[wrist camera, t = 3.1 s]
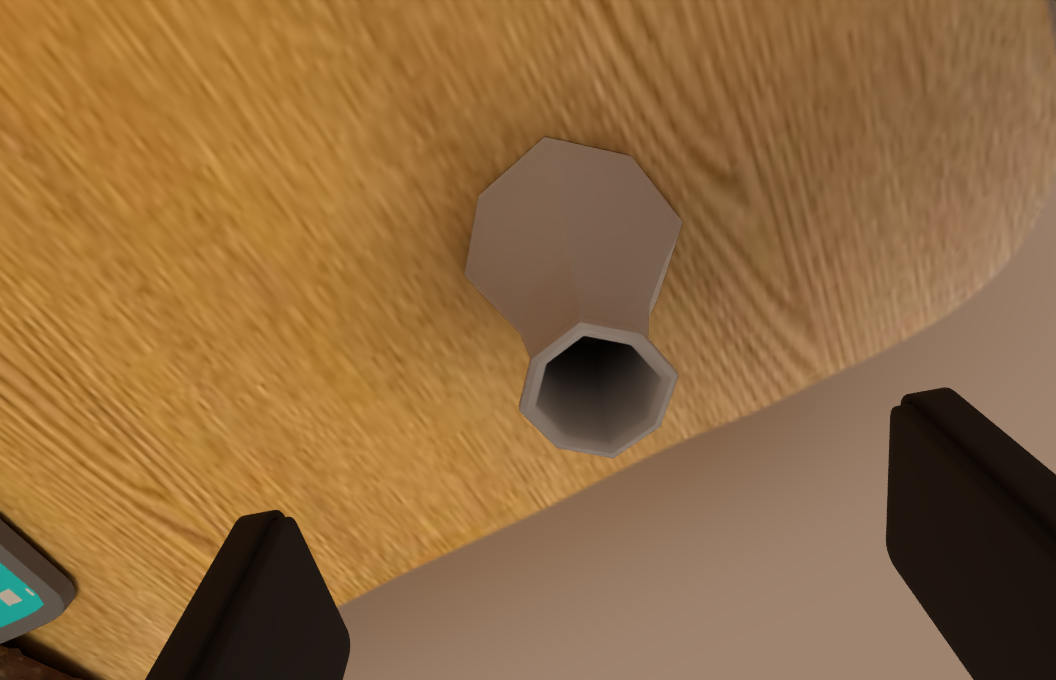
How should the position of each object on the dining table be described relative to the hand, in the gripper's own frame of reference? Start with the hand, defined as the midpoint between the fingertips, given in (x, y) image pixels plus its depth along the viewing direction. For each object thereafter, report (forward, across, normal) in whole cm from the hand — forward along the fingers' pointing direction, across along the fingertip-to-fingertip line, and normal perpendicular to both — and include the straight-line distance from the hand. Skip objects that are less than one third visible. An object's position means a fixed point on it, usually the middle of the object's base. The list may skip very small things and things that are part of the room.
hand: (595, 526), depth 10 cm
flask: (+14, -1, 0) cm, 14 cm away
